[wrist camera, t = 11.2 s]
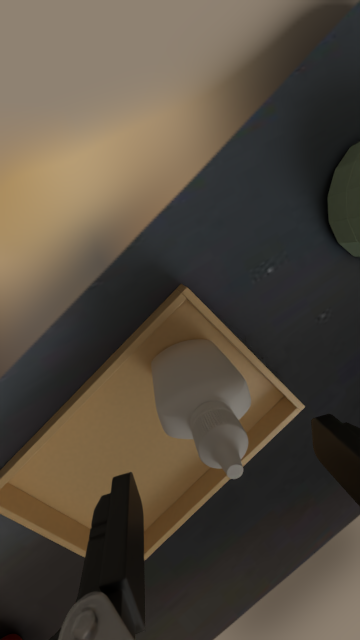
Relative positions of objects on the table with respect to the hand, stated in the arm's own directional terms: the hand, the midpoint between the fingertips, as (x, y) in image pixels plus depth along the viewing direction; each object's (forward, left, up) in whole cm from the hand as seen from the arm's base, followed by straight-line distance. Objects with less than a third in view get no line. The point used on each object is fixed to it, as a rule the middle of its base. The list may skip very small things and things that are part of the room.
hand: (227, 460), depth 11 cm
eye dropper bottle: (0, 0, -12) cm, 12 cm away
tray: (+6, -4, -12) cm, 14 cm away
